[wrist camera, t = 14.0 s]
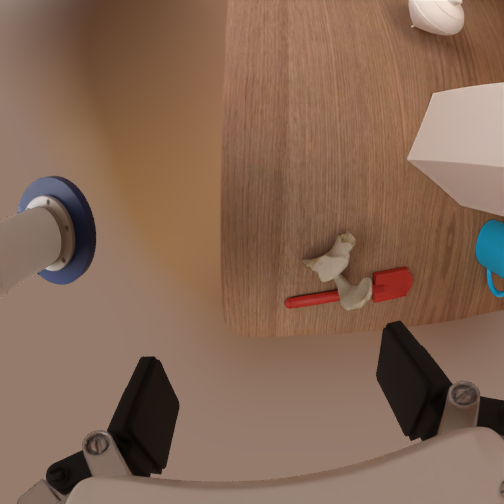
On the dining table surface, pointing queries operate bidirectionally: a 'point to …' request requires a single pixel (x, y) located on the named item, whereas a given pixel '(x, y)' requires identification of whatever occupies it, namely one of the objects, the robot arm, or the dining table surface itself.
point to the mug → (491, 251)
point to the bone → (332, 268)
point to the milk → (465, 145)
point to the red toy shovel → (383, 289)
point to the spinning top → (437, 16)
